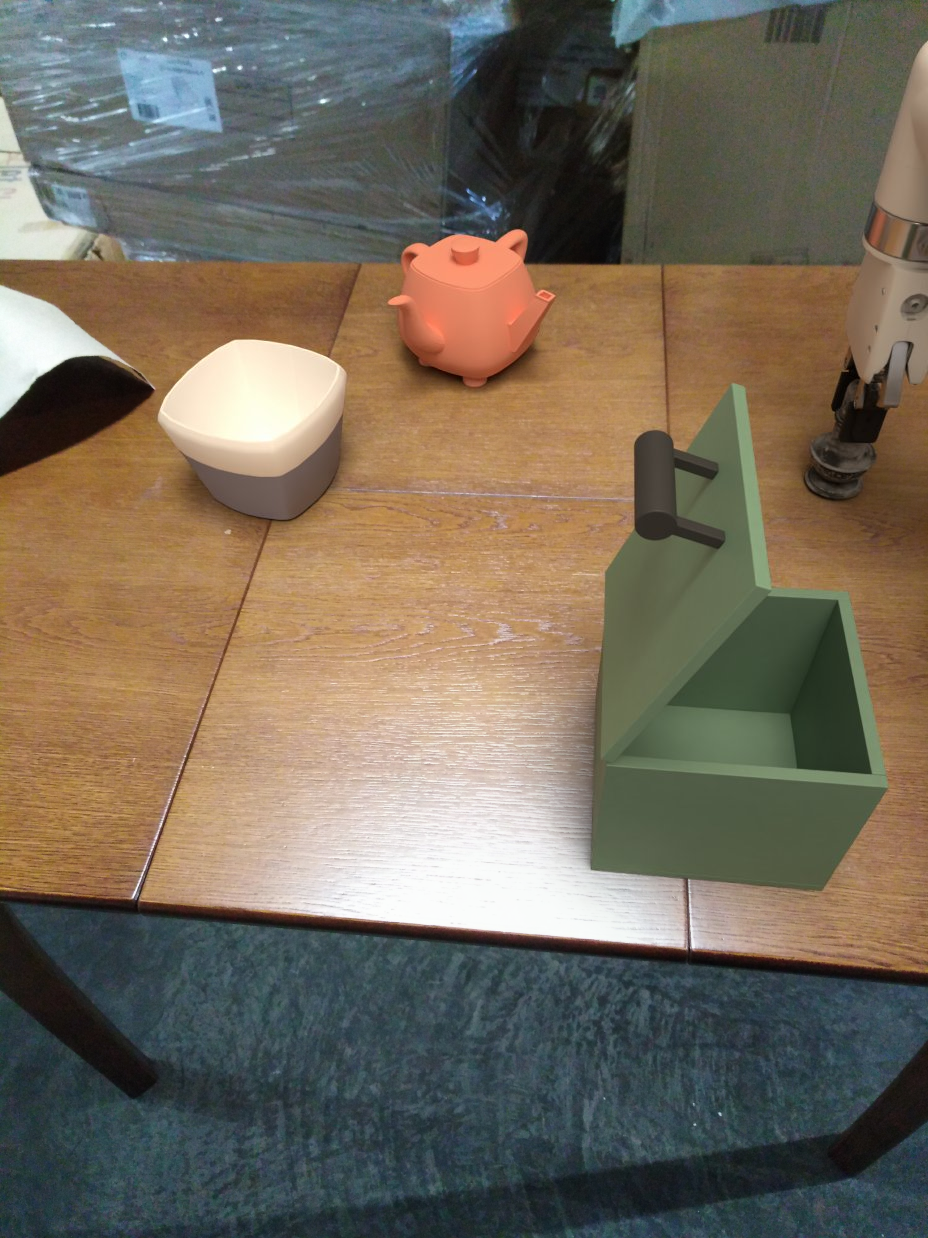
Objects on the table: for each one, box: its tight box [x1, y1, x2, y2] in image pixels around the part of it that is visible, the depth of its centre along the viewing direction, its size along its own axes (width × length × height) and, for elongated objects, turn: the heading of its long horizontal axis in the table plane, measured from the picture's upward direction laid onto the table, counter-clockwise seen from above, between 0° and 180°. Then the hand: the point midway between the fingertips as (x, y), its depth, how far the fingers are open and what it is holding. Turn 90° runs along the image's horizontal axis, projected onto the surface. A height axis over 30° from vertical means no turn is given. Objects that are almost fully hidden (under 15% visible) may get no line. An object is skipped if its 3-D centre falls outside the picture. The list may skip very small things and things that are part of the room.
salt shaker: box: [804, 379, 881, 500], centre depth 81 cm, size 6×6×12 cm
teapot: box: [387, 228, 557, 388], centre depth 97 cm, size 16×17×14 cm
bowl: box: [157, 339, 348, 521], centre depth 86 cm, size 15×15×11 cm
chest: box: [590, 586, 890, 892], centre depth 61 cm, size 16×15×14 cm
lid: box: [601, 382, 773, 762], centre depth 49 cm, size 16×15×5 cm
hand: (852, 423), depth 81 cm, fingers closed on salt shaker, 3 cm apart
